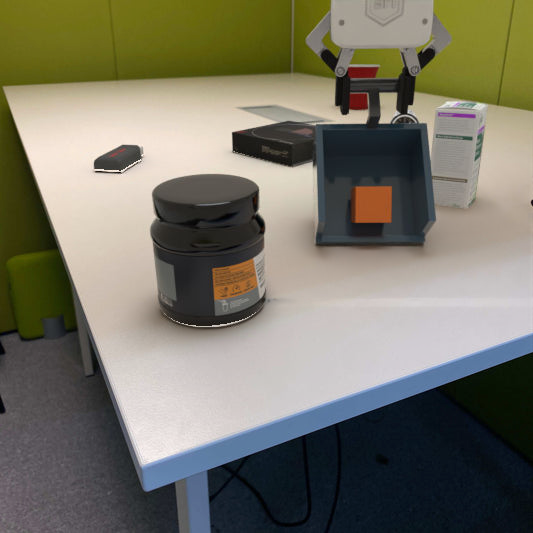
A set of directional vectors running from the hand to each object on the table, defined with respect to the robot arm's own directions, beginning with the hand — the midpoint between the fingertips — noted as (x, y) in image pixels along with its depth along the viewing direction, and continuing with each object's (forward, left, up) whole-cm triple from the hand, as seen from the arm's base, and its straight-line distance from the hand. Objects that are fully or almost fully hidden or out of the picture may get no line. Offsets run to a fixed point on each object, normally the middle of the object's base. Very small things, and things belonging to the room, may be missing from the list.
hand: (372, 111), depth 61 cm
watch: (-10, -29, -16) cm, 35 cm away
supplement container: (+17, +16, -16) cm, 28 cm away
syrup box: (-14, -12, -16) cm, 24 cm away
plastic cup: (-12, -98, -16) cm, 100 cm away
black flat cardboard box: (+8, -47, -16) cm, 50 cm away
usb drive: (+40, -38, -16) cm, 57 cm away
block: (0, +1, -11) cm, 11 cm away
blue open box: (0, -3, -9) cm, 10 cm away
